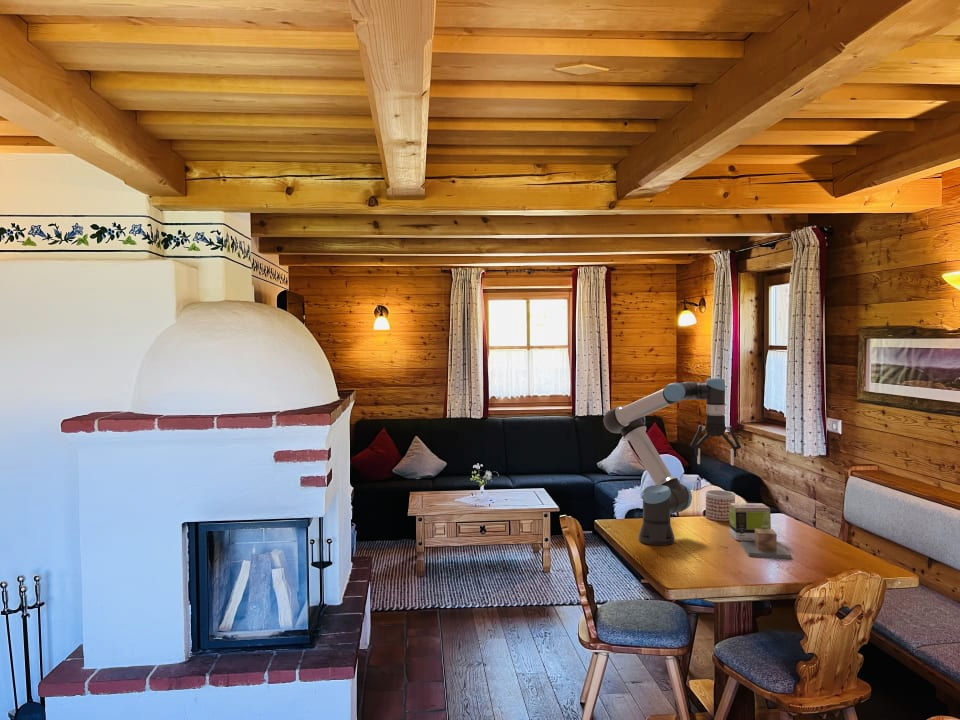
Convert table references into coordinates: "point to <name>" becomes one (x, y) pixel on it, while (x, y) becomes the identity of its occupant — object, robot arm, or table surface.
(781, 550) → the slate board
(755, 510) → the tea box
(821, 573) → the table surface
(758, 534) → the walnut cube
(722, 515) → the planter
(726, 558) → the table surface
